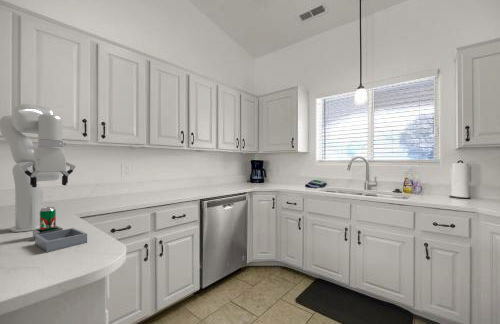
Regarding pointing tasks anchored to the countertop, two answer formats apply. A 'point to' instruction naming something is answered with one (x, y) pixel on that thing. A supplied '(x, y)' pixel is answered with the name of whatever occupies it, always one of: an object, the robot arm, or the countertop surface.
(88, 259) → the countertop surface
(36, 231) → the pin socket
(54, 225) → the soda can
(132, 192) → the countertop surface
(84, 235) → the tray
